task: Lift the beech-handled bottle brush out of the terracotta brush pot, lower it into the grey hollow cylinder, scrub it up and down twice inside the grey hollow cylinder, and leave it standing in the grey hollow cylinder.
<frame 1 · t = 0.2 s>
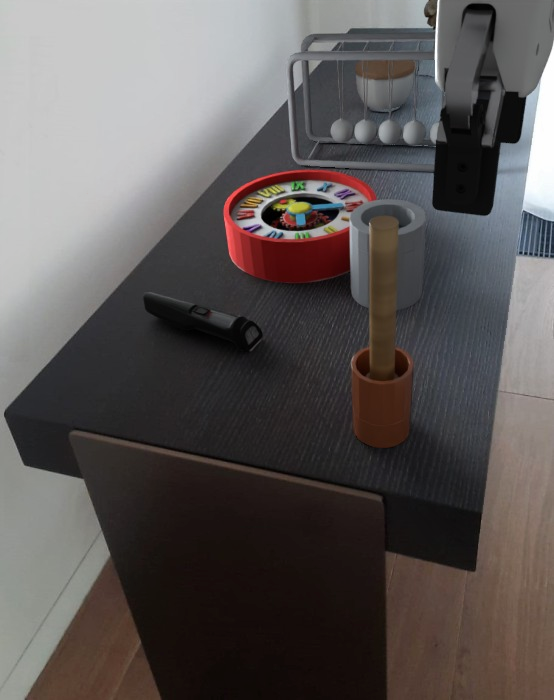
hand: (479, 172, 42), 29 cm above the table, tool pointing down, fingers open, 9 cm apart
grey hollow cylinder: (386, 290, 85), on the table
brush: (381, 404, 65), point 3 cm above the table, touching brush pot
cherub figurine: (462, 67, 145), on the table
toy clock: (302, 243, 95), on the table
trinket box: (384, 108, 131), on the table
brush pot: (381, 427, 67), on the table
electric trimmer: (202, 330, 82), on the table
newton's cradle: (389, 158, 114), on the table
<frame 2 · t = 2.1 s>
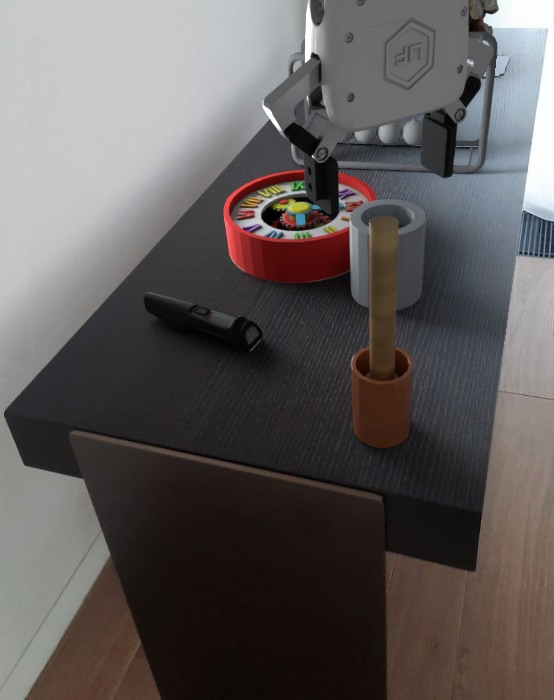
hand: (381, 188, 52), 25 cm above the table, tool pointing down, fingers open, 9 cm apart
nothing on the table moved.
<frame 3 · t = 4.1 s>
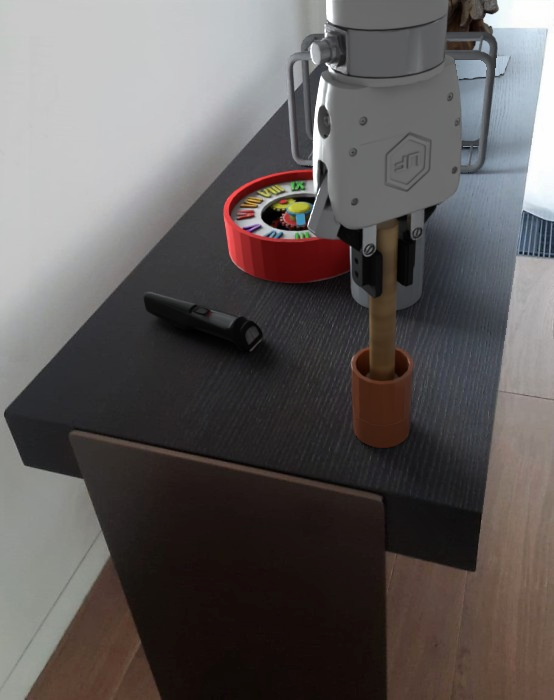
hand: (383, 282, 57), 17 cm above the table, tool pointing down, fingers closed on brush, 2 cm apart
brush: (381, 404, 65), point 3 cm above the table, touching gripper
everything else where it was.
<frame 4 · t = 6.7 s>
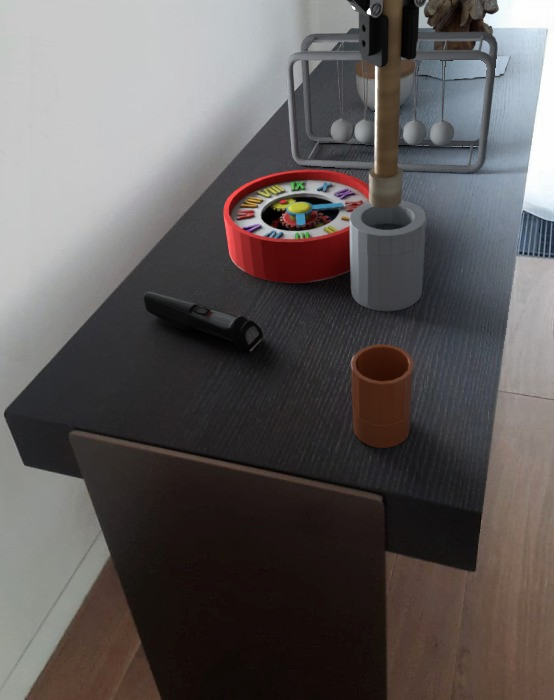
hand: (388, 57, 60), 29 cm above the table, tool pointing down, fingers closed on brush
brush: (385, 200, 69), point 16 cm above the table, touching gripper
everything else where it was.
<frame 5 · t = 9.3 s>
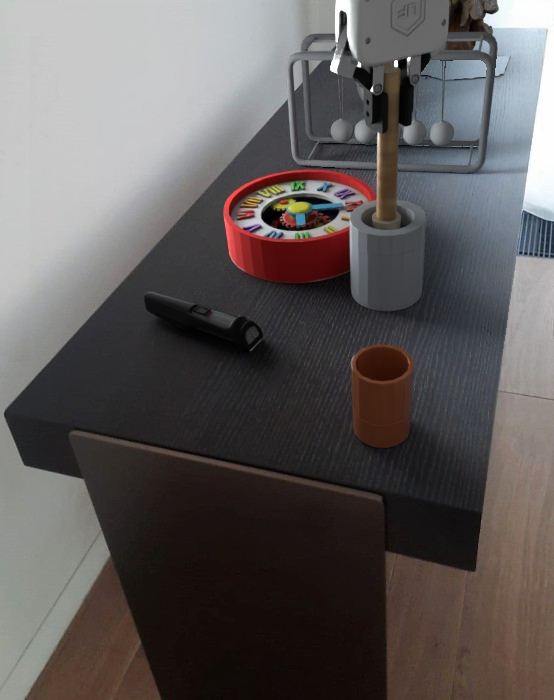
hand: (388, 124, 72), 20 cm above the table, tool pointing down, fingers closed on brush
brush: (386, 239, 80), point 7 cm above the table, touching gripper
everything else where it was.
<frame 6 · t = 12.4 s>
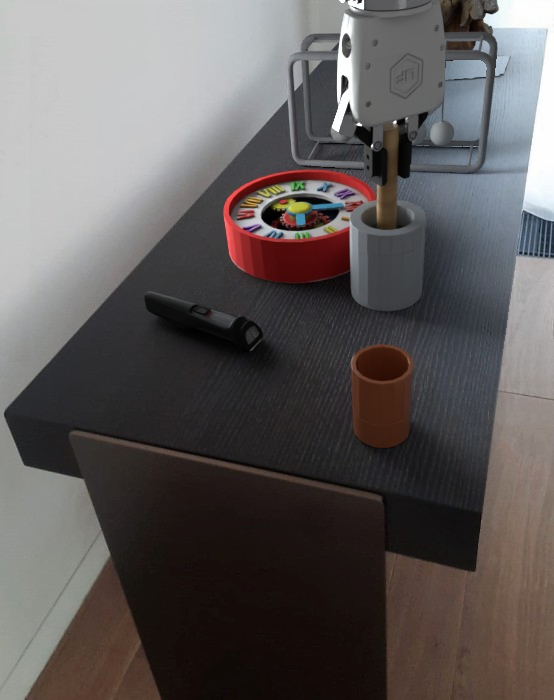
hand: (387, 176, 75), 15 cm above the table, tool pointing down, fingers closed on brush, 2 cm apart
brush: (385, 281, 84), point 1 cm above the table, touching gripper
everything else where it was.
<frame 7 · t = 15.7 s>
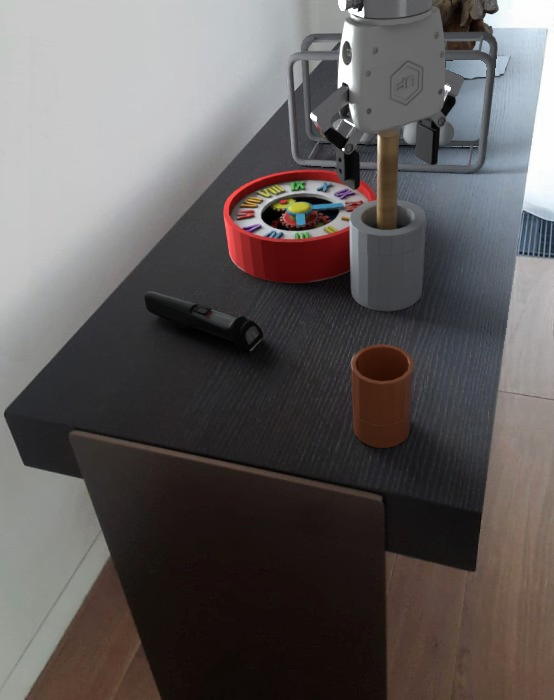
hand: (388, 172, 75), 15 cm above the table, tool pointing down, fingers open, 9 cm apart
brush: (385, 286, 84), point 1 cm above the table, touching grey hollow cylinder
everything else where it was.
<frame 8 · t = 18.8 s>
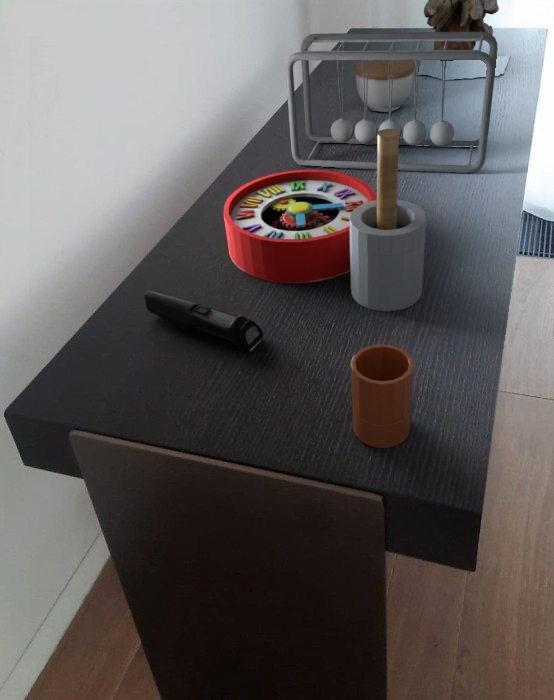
nothing on the table moved.
at the end: brush 0.1 cm off-centre in the grey hollow cylinder, point 0.6 cm above the grey hollow cylinder's base; brush moved 23.2 cm from its start; the gripper is holding nothing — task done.
